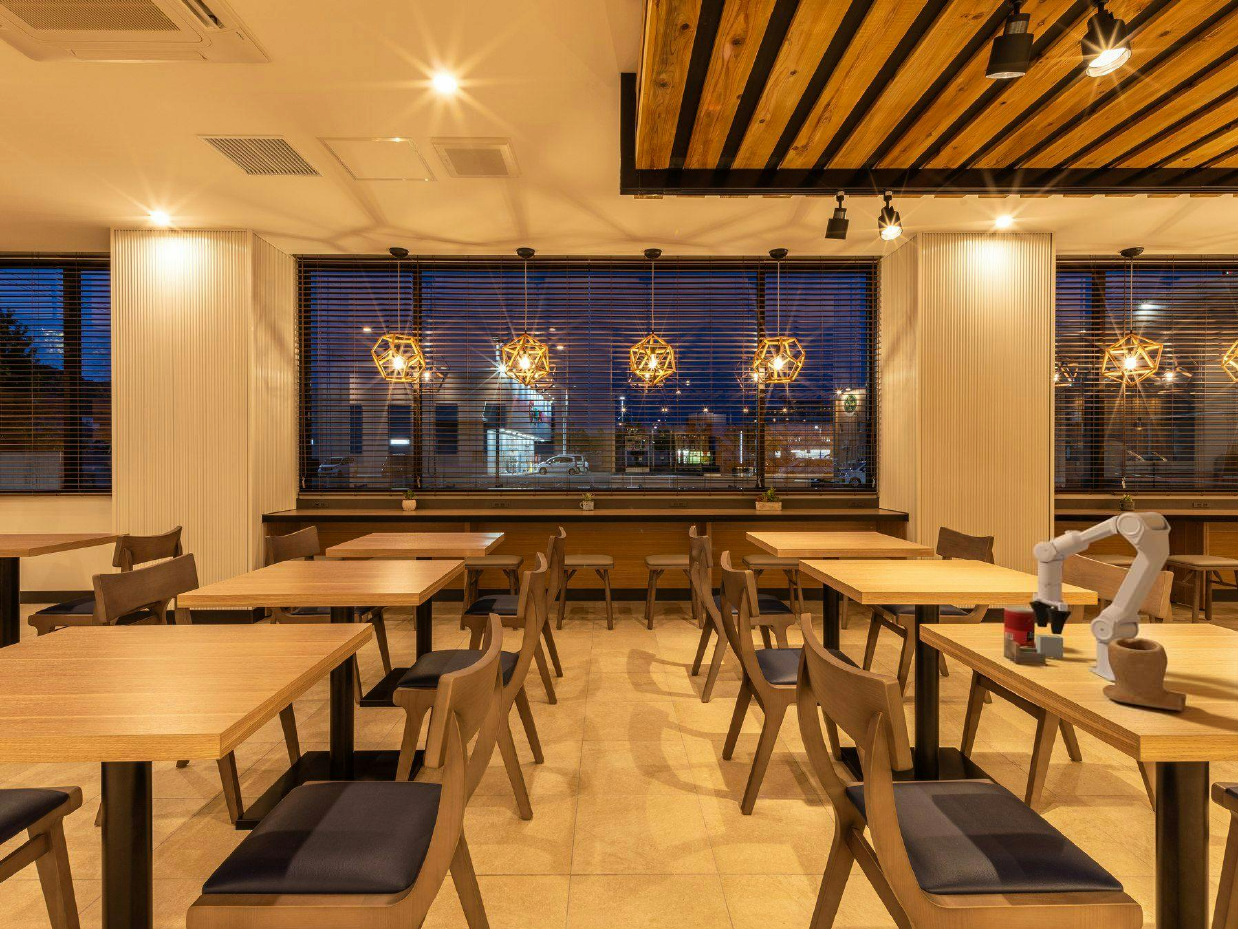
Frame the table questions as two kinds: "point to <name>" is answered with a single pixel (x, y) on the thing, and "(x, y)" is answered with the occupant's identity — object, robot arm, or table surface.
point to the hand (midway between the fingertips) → (1049, 630)
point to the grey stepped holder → (1022, 653)
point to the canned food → (1019, 625)
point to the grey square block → (1050, 645)
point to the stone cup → (1140, 674)
